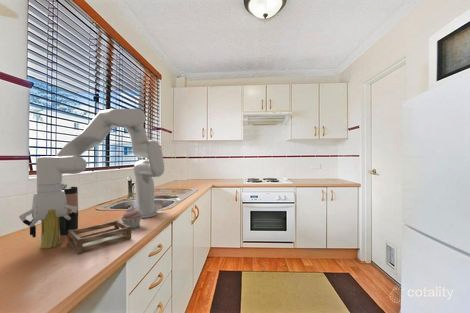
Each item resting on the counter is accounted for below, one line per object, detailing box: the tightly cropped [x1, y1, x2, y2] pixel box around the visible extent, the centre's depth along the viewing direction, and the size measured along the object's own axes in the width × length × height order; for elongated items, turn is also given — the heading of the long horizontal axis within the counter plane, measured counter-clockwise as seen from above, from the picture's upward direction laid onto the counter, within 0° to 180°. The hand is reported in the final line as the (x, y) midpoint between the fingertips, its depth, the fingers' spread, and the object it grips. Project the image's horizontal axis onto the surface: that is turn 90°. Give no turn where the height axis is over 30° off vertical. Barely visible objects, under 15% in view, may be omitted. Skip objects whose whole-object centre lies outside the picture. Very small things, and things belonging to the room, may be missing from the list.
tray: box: [67, 219, 132, 255], centre depth 90 cm, size 18×14×5 cm
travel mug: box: [59, 186, 79, 236], centre depth 101 cm, size 8×8×20 cm
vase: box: [40, 209, 62, 250], centre depth 86 cm, size 6×6×14 cm
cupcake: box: [120, 206, 143, 230], centre depth 107 cm, size 9×9×10 cm
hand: (50, 232), depth 86 cm, fingers open, 9 cm apart
